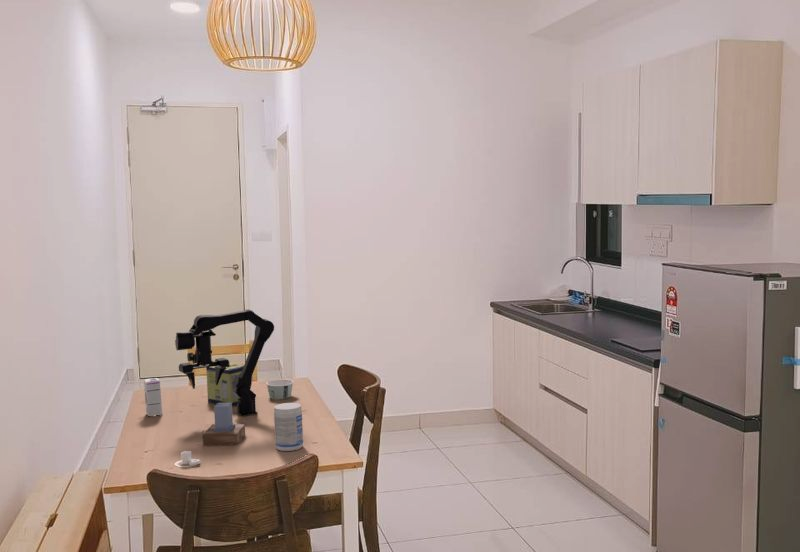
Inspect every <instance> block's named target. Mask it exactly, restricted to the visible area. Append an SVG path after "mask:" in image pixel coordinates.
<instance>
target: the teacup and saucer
mask: <svg viewBox="0 0 800 552" xmlns="http://www.w3.org/2000/svg"><path fill="white" fill-rule="evenodd" d="M180 457H181V459H180V460H177V461H176V462H175V463H174V466H175V467H177V468H189V467H194V466H198V465H200V464H201V459H199V458H198V459H197V458H192V451H191V450H184V451H181V452H180ZM179 463H182V464H183V465H179ZM184 465H185V466H184Z"/></svg>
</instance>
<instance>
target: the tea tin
mask: <svg viewBox="0 0 800 552" xmlns="http://www.w3.org/2000/svg"><path fill="white" fill-rule="evenodd" d="M213 408H214V412H213V413H214V424H215V427H214V428H213V432H231V431H232V430H233V428H234V427H235V424H236V422H234V421H233V420H234V419H233V406H232V403H215V405H214V406H213Z"/></svg>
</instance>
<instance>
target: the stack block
mask: <svg viewBox="0 0 800 552" xmlns="http://www.w3.org/2000/svg"><path fill="white" fill-rule="evenodd" d="M214 427H215V423H214V424H213V423H212V424H211V425H210V426H209V427H208V428H207V429H206V430H205V431H204V432H203V433H202V446H238V444H239V443H240V442H241V441H242V440H243V438H244V437H245V436H246V424H245V423H235V427H234V428H233V430H232V431H231V432H213V428H214Z"/></svg>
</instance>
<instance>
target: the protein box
mask: <svg viewBox="0 0 800 552" xmlns="http://www.w3.org/2000/svg"><path fill="white" fill-rule="evenodd" d="M229 364H230V366H229V367H226V369H225V370H224V371H223V373H222V375H221V377H220V380H219V383H218V385H216V383H215V373H216V371H215V366H212V367H205V368H206V387H207V389H206V390H207V402H209V403H213V404H217V403H232V407H233V406H237V403H238V399H239V398H240V397H238V395H237V394H236V393H235V392H234V391H233V389H232V384H231V383H232V382H233V380H234V377H235V375H239V374H240V373H241V372H242V370H243V367H244V365H245V364H237V363H236V364H235V363H231V362H229Z"/></svg>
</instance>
